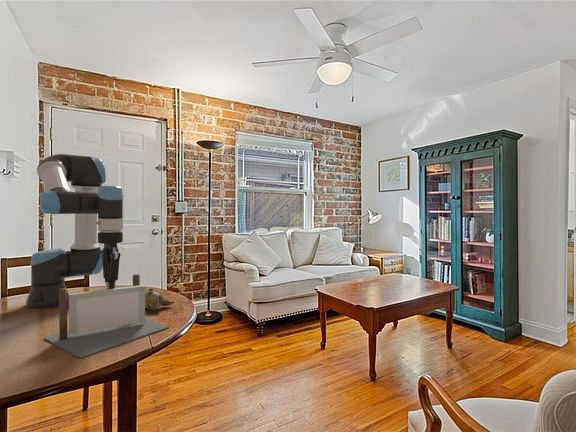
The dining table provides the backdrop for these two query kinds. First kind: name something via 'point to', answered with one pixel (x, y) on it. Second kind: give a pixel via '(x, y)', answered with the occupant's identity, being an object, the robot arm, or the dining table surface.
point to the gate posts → (64, 308)
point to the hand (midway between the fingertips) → (110, 300)
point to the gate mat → (104, 337)
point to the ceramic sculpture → (155, 300)
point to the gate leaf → (106, 308)
